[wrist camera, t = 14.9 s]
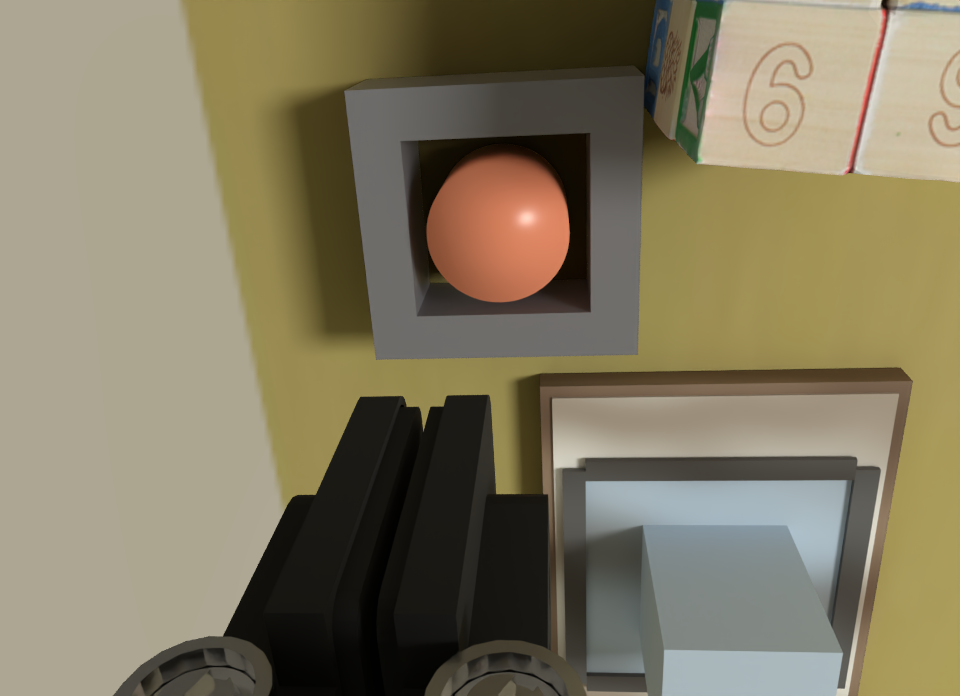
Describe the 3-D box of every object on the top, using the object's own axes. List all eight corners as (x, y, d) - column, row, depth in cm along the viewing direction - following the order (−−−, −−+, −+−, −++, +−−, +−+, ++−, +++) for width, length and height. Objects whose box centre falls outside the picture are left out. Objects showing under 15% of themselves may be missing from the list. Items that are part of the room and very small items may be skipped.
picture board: (540, 373, 28) (539, 392, 27) (900, 367, 27) (917, 386, 26) (550, 711, 35) (550, 739, 33) (841, 718, 34) (853, 747, 32)
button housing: (367, 79, 25) (344, 90, 22) (633, 65, 24) (644, 75, 21) (392, 322, 28) (376, 359, 25) (629, 317, 27) (638, 354, 24)
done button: (434, 146, 25) (420, 166, 22) (566, 140, 24) (568, 159, 22) (444, 271, 26) (432, 304, 24) (568, 267, 26) (570, 300, 23)
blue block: (642, 525, 29) (664, 650, 24) (786, 525, 29) (843, 653, 23) (639, 633, 31) (658, 771, 26) (774, 635, 31) (822, 776, 25)
